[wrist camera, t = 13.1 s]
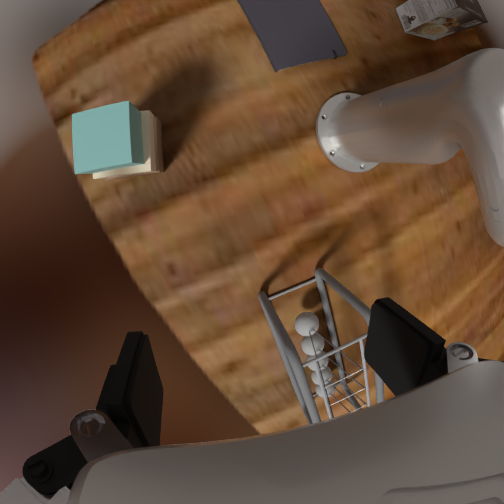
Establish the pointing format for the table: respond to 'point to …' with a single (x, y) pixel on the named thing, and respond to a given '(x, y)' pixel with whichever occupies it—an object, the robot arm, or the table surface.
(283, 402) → the table surface
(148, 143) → the tower mid
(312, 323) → the newton's cradle
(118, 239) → the table surface
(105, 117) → the teal block
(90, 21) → the table surface
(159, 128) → the tower base
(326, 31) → the notebook
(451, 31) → the coffee box
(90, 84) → the table surface
